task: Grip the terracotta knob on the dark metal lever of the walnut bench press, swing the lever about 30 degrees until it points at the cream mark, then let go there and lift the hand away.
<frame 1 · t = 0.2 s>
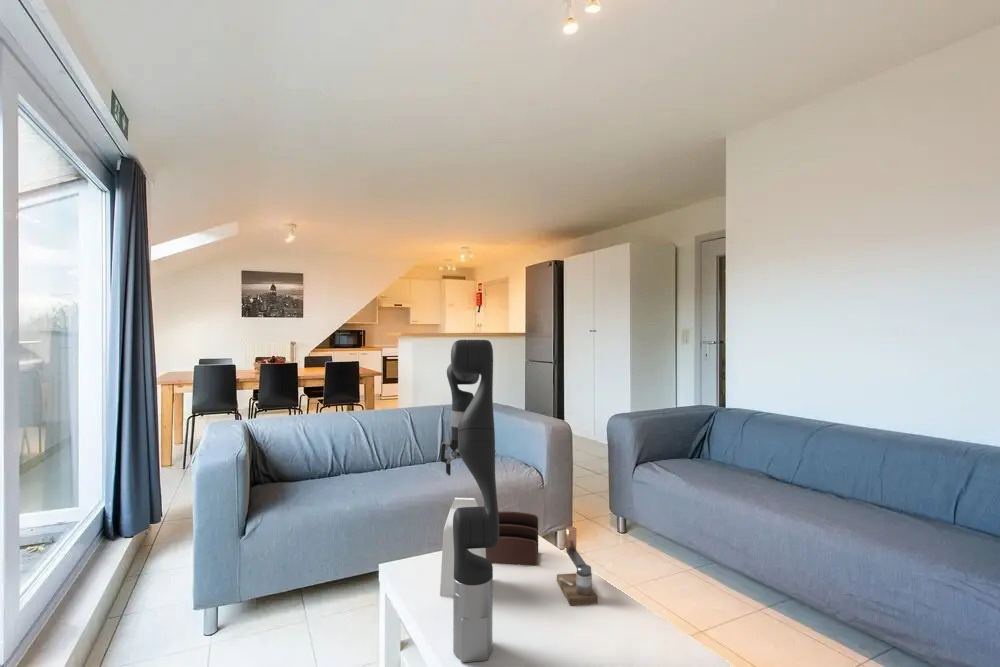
hand: (462, 474, 163), 29 cm above the table, tool pointing down, fingers open, 8 cm apart
press bench: (586, 602, 140), on the table
letter holder: (508, 558, 168), on the table
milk: (464, 587, 148), on the table
lever: (577, 550, 148), point 11 cm above the table, hinge at 0.0°
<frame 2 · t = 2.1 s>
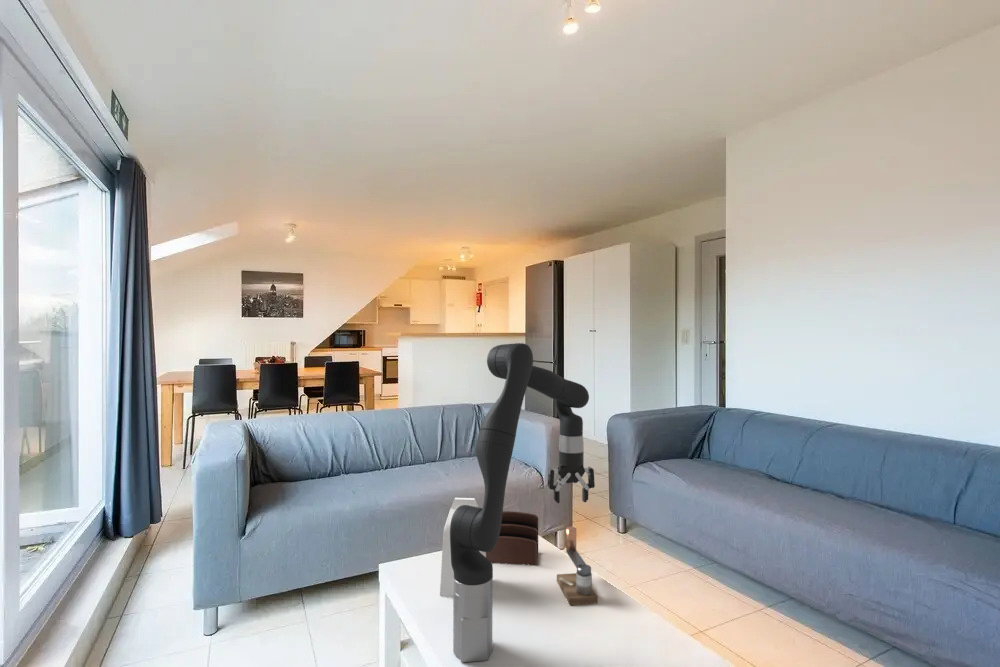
hand: (571, 502, 155), 23 cm above the table, tool pointing down, fingers open, 8 cm apart
nothing on the table moved.
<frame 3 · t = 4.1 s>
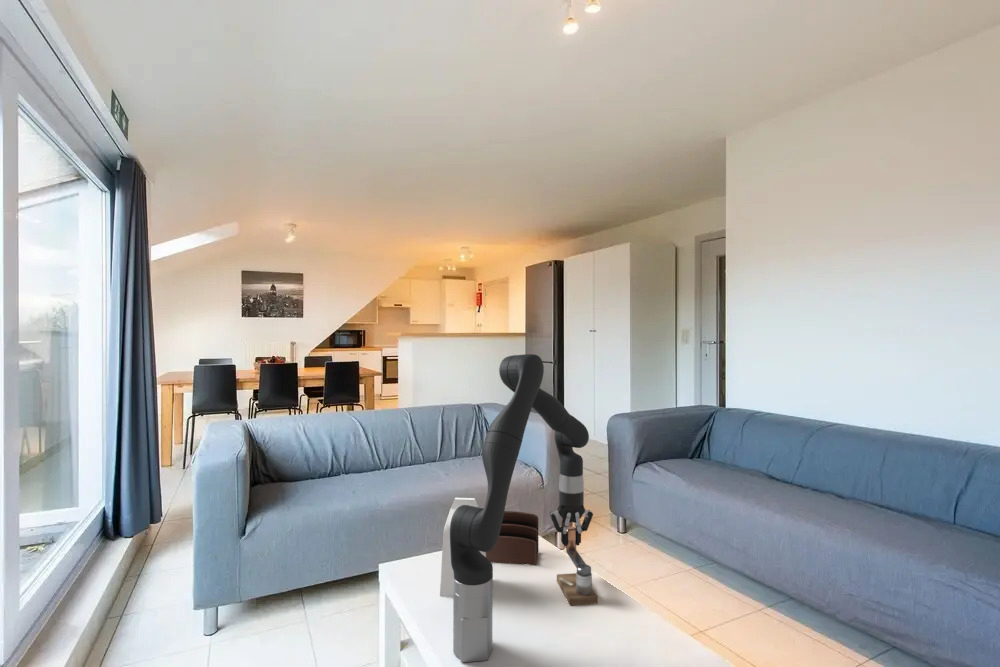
hand: (571, 544, 155), 10 cm above the table, tool pointing down, fingers closed on lever, 3 cm apart
lever: (577, 550, 148), point 11 cm above the table, hinge at 0.0°, touching gripper
everything else where it was.
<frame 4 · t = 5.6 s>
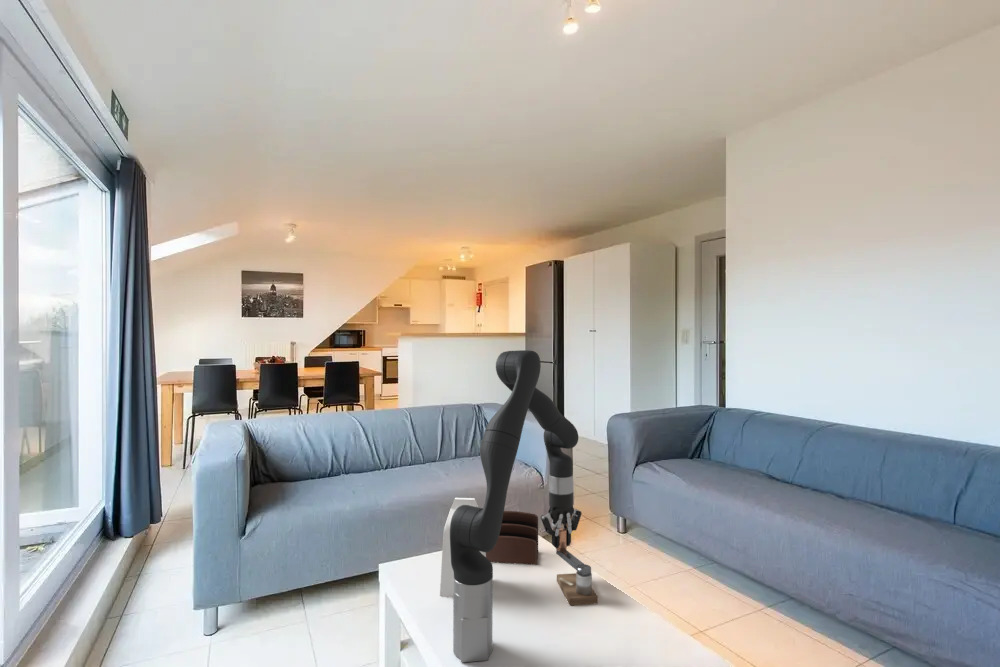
hand: (561, 545, 154), 10 cm above the table, tool pointing down, fingers closed on lever, 3 cm apart
lever: (572, 550, 148), point 11 cm above the table, hinge at 14.3°, touching gripper
everything else where it was.
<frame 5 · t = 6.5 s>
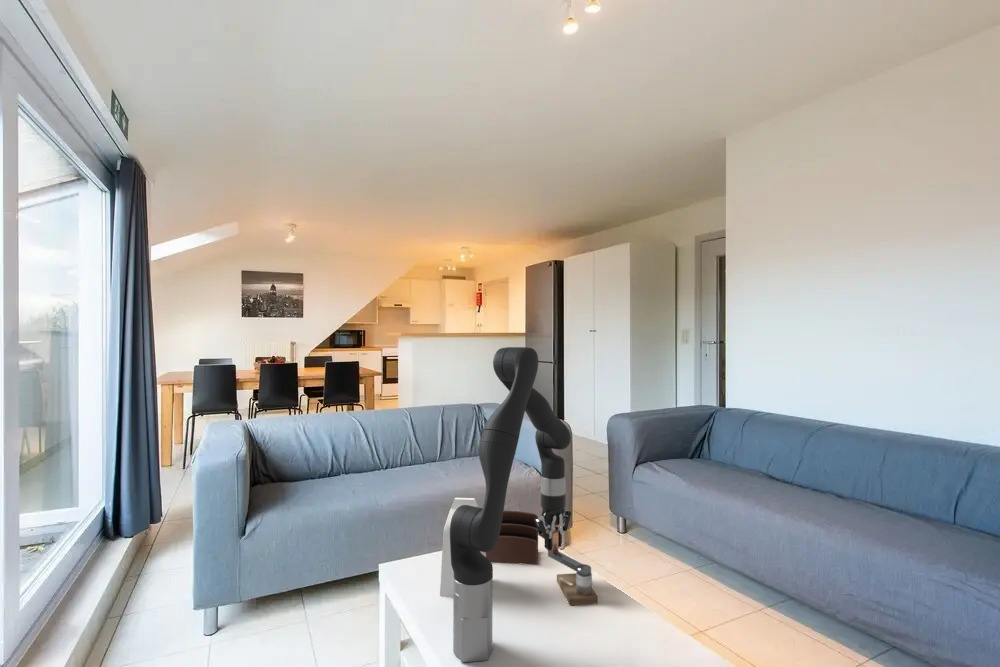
hand: (553, 547, 153), 10 cm above the table, tool pointing down, fingers closed on lever, 3 cm apart
lever: (568, 551, 147), point 11 cm above the table, hinge at 27.5°, touching gripper
everything else where it was.
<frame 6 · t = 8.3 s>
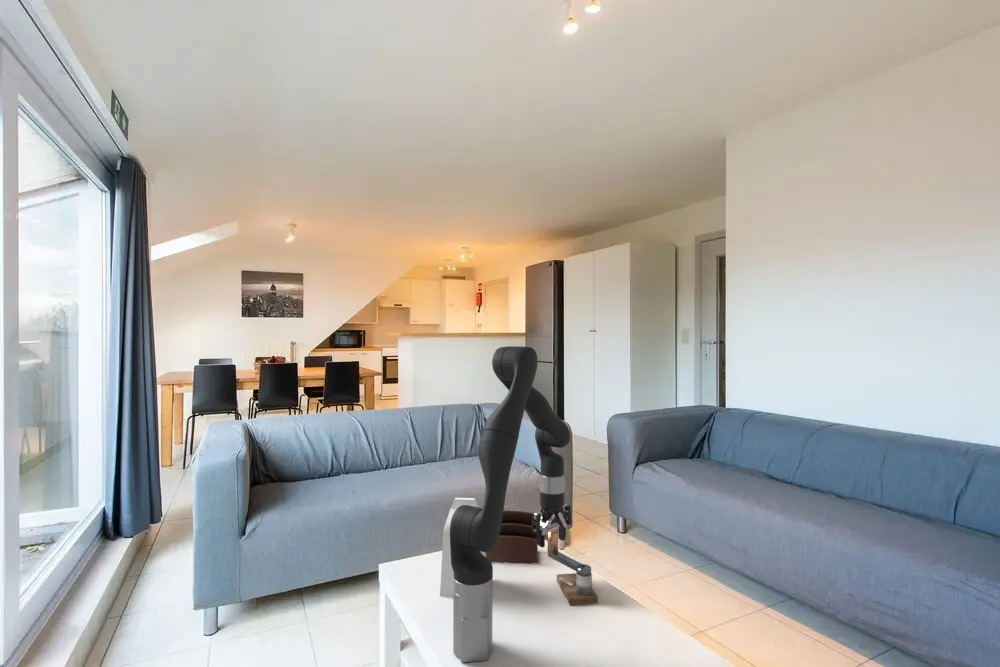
hand: (551, 543, 152), 11 cm above the table, tool pointing down, fingers open, 8 cm apart
lever: (568, 551, 147), point 11 cm above the table, hinge at 28.0°
everything else where it was.
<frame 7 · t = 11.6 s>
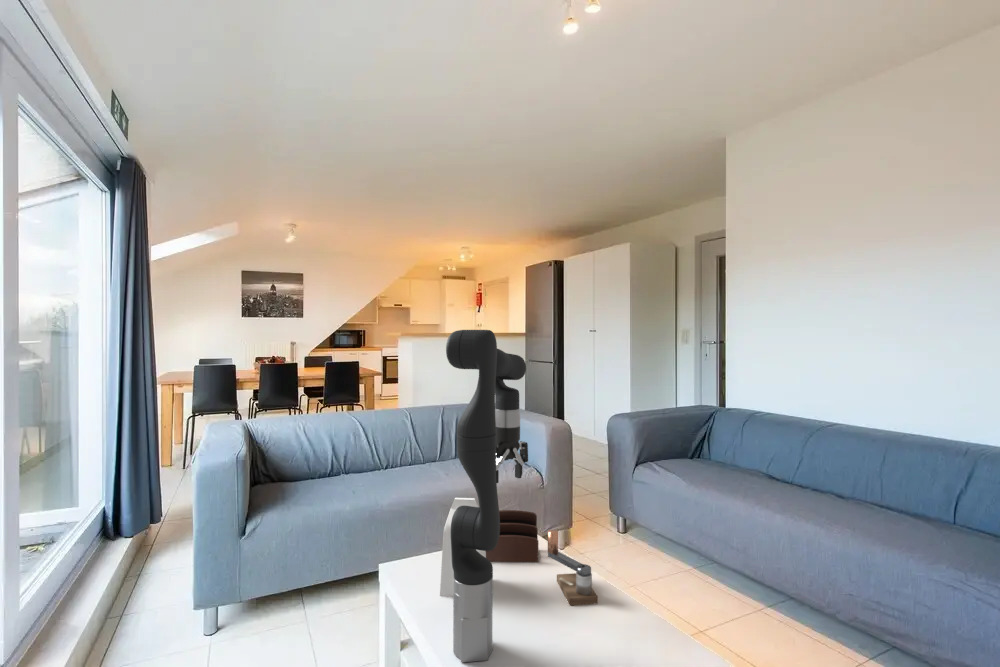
hand: (506, 480, 146), 32 cm above the table, tool pointing down, fingers open, 8 cm apart
at the end: lever at +28° (first picture: +0°); the gripper is holding nothing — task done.
